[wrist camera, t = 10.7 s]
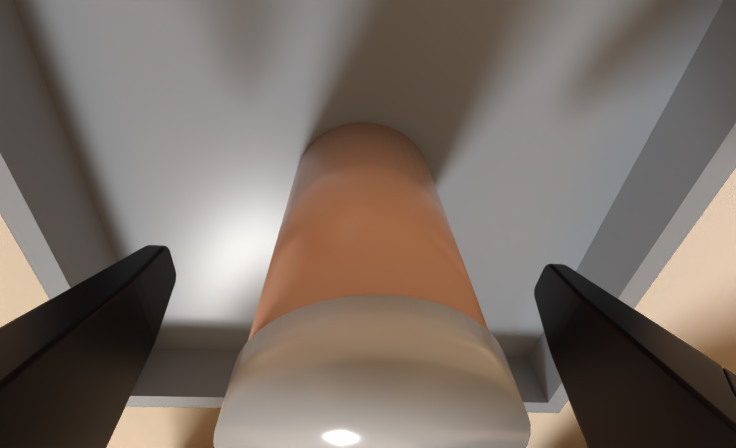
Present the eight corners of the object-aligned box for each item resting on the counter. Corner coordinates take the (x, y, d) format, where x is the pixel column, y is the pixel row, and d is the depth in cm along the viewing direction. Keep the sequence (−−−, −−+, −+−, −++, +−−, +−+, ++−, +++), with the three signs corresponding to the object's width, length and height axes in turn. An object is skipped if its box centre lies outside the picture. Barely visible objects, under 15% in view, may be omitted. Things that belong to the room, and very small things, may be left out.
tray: (532, 354, 19) (559, 412, 16) (145, 344, 17) (111, 406, 15) (826, -182, 8) (1034, -248, 6) (-127, -324, 7) (-411, -496, 4)
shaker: (420, 246, 14) (483, 509, 7) (294, 240, 13) (234, 510, 7) (446, 125, 11) (585, 364, 4) (289, 113, 11) (182, 354, 4)
